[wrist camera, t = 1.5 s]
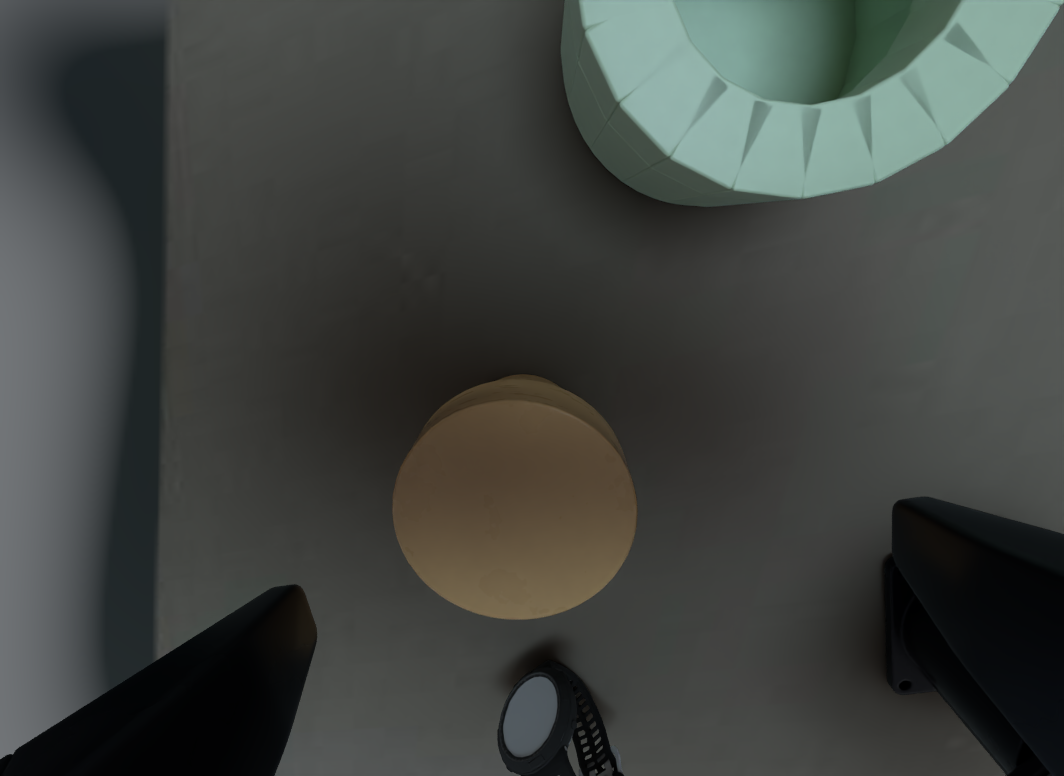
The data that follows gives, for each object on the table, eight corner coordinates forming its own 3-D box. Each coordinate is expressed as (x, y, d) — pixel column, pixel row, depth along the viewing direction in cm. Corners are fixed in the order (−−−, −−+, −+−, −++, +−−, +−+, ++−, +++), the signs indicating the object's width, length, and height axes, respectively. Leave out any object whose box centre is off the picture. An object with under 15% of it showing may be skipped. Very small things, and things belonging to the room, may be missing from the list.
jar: (864, 174, 18) (1079, 143, 11) (587, 231, 19) (614, 237, 11) (856, -168, 15) (1128, -509, 8) (535, -87, 16) (527, -335, 9)
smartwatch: (581, 627, 23) (590, 733, 18) (620, 719, 24) (638, 840, 20) (489, 654, 24) (475, 764, 19) (532, 742, 25) (529, 866, 20)
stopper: (622, 490, 21) (653, 602, 15) (460, 517, 22) (425, 636, 16) (594, 328, 20) (617, 379, 13) (419, 361, 20) (361, 425, 14)
